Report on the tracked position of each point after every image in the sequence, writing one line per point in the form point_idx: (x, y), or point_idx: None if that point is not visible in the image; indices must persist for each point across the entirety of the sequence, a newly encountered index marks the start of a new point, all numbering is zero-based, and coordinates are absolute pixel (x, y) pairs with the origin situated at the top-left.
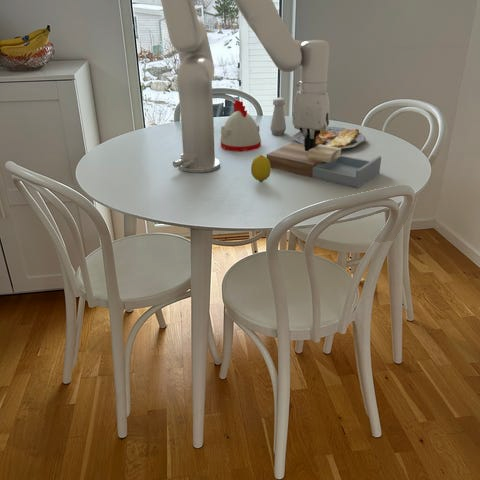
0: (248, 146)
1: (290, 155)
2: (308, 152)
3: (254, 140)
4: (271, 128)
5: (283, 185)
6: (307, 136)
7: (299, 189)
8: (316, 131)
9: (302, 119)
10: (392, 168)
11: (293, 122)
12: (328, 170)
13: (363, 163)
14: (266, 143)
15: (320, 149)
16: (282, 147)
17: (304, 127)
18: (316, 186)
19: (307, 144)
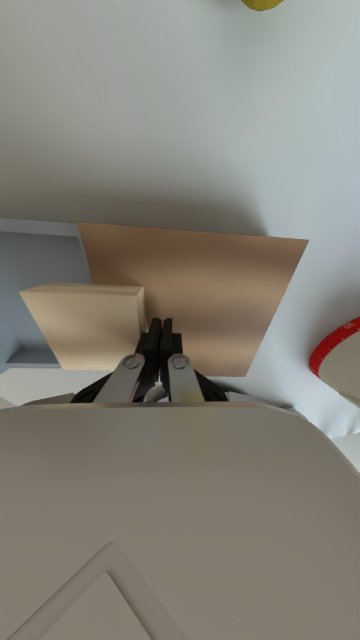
0: (348, 335)
1: (212, 280)
2: (137, 292)
3: (344, 358)
4: (304, 418)
5: (132, 23)
6: (166, 364)
7: (35, 7)
8: (90, 402)
9: (215, 610)
10: (36, 378)
11: (329, 448)
12: (21, 230)
13: (48, 358)
14: (298, 376)
15: (103, 328)
16: (262, 335)
17: (162, 406)
18: (27, 136)
19: (162, 333)
